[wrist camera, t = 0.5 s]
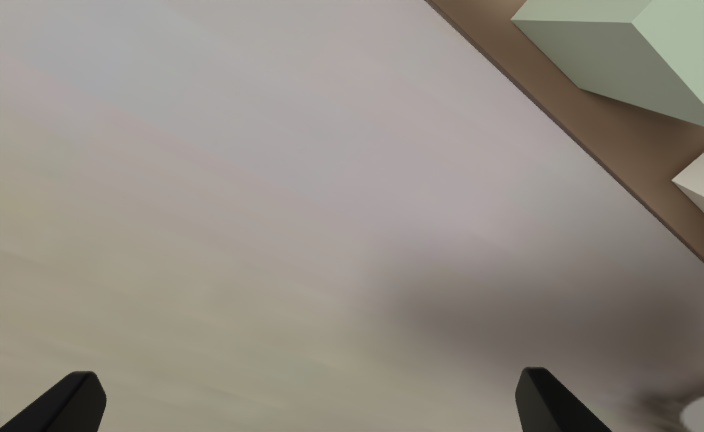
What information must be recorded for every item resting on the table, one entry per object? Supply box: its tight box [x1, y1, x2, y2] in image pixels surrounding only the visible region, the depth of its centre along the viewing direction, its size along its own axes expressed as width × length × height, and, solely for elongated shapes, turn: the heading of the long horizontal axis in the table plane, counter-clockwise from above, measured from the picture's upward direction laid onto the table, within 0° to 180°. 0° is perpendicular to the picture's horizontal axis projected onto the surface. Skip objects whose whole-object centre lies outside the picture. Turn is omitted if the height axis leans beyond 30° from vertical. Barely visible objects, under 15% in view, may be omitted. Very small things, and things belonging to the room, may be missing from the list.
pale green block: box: [511, 0, 704, 126], centre depth 14 cm, size 4×5×8 cm
